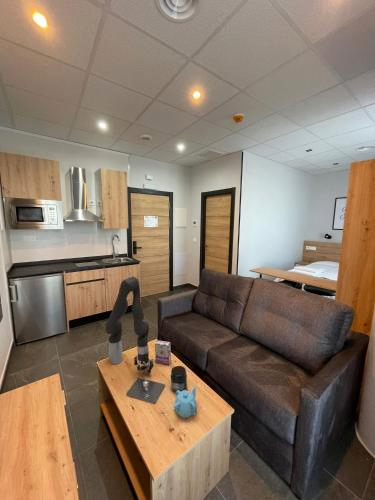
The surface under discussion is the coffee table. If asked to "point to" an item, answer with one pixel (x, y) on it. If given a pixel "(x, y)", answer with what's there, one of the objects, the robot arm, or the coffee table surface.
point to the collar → (143, 371)
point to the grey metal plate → (146, 390)
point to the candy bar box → (163, 352)
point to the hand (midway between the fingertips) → (144, 371)
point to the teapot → (185, 403)
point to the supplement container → (178, 378)
